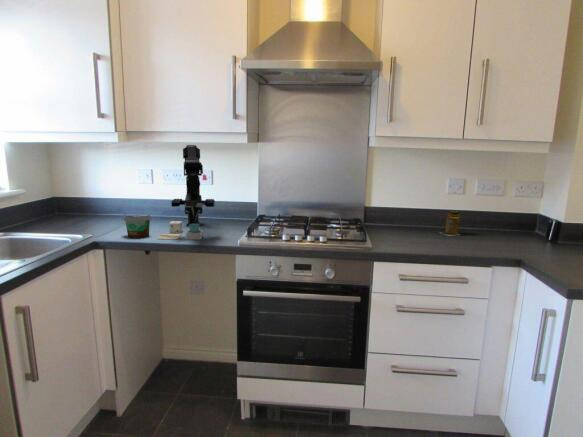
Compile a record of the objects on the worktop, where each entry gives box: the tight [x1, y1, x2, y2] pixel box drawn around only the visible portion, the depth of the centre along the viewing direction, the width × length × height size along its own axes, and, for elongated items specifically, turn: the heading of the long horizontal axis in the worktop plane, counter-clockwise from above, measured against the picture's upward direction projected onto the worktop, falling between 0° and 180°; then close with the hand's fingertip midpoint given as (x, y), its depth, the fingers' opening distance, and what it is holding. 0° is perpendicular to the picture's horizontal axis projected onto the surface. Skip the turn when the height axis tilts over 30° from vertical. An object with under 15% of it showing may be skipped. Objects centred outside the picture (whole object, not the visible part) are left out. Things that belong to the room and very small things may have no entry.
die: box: [168, 220, 183, 234], centre depth 182 cm, size 5×5×5 cm
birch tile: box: [157, 233, 182, 240], centre depth 173 cm, size 9×9×1 cm
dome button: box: [188, 224, 200, 233], centre depth 172 cm, size 4×4×4 cm
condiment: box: [438, 210, 462, 237], centre depth 192 cm, size 7×8×12 cm
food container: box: [123, 214, 152, 239], centre depth 170 cm, size 12×6×10 cm, turn 92°
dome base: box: [185, 229, 203, 240], centre depth 172 cm, size 6×6×3 cm
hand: (194, 221), depth 171 cm, fingers closed
